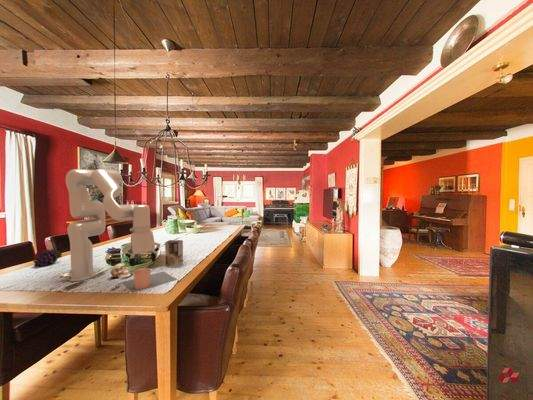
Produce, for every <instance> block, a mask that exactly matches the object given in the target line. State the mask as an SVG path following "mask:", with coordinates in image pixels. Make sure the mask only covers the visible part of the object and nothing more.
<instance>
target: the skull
mask: <svg viewBox="0 0 533 400" xmlns="http://www.w3.org/2000/svg"><path fill="white" fill-rule="evenodd" d="M110 274H111V276H112V277H109V278H107V281H110V282H111V281H114V280H118V279H120V280H125V279H128V278H130V277H132V276H134V272H130V270H129V268H128V267H127V265H126V264H124V263H117V264H115V265H114V266H113V267H112V268H111V270H110Z"/></svg>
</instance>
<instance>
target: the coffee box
mask: <svg viewBox="0 0 533 400" xmlns="http://www.w3.org/2000/svg"><path fill="white" fill-rule="evenodd" d="M183 243H184V240H182V239H181V240H179V239H178V240H177V239H169V240H167V241H164V249H165V250H164V253H165V257H164V258H165V268H166V267H167V268H180V267H181V266H182V265H184V251H183V250H184V248H183V246H184V244H183Z"/></svg>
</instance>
